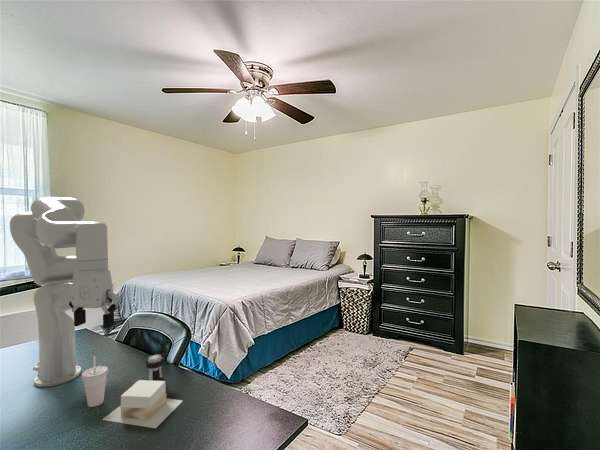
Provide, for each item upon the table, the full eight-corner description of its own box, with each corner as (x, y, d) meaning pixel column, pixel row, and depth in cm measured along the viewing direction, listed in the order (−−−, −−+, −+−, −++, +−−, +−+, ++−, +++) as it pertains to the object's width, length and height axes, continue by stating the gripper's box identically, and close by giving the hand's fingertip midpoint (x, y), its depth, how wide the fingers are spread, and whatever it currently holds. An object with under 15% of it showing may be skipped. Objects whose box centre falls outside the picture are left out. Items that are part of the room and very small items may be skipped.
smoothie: (80, 413, 85) (79, 363, 85) (84, 401, 91) (82, 353, 91) (108, 407, 88) (106, 358, 88) (109, 395, 94) (108, 349, 94)
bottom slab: (120, 416, 83) (120, 405, 83) (142, 399, 91) (141, 389, 91) (147, 420, 82) (146, 409, 81) (166, 402, 89) (166, 392, 89)
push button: (148, 397, 93) (147, 364, 93) (138, 392, 96) (137, 359, 95) (168, 387, 98) (167, 355, 98) (158, 382, 101) (157, 351, 101)
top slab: (121, 407, 83) (120, 396, 82) (138, 390, 90) (138, 380, 90) (150, 408, 82) (150, 397, 82) (165, 391, 90) (165, 381, 90)
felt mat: (102, 421, 82) (101, 419, 82) (135, 395, 94) (135, 394, 94) (155, 430, 79) (155, 428, 79) (183, 402, 90) (183, 400, 90)
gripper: (54, 267, 87) (56, 328, 87) (107, 268, 83) (109, 332, 83) (79, 263, 94) (80, 319, 94) (128, 264, 90) (130, 323, 91)
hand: (94, 325), depth 89 cm, fingers open, 9 cm apart
